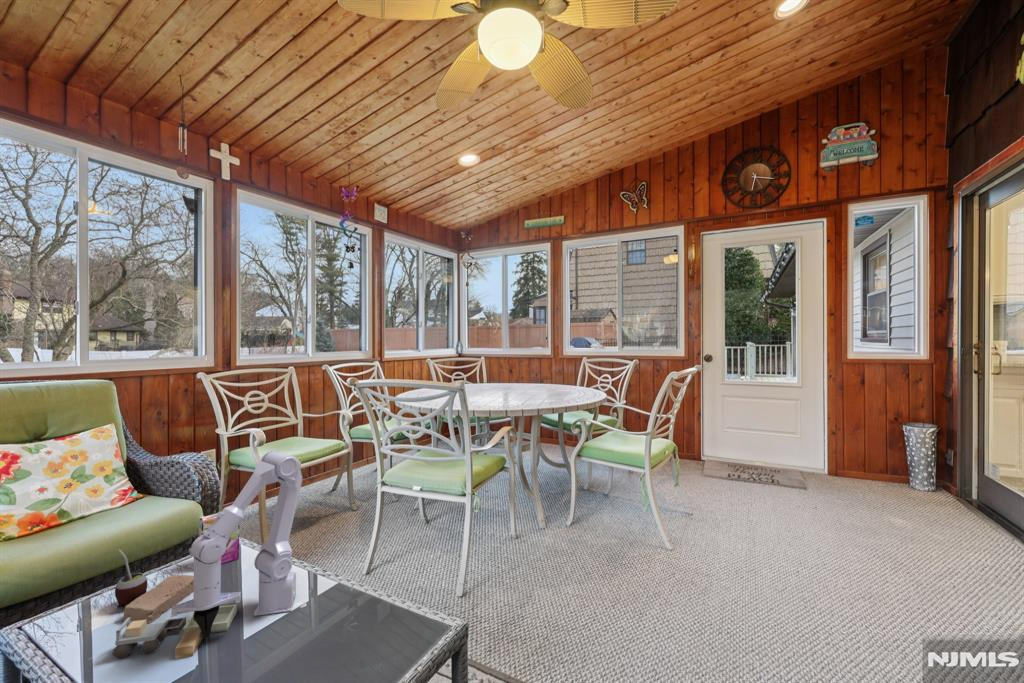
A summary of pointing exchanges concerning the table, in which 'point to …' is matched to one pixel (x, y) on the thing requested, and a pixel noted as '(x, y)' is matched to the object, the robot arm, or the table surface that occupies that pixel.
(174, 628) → the socket
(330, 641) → the table surface
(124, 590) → the mate gourd
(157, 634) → the trolley
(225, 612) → the tray
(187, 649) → the block
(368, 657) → the table surface
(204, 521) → the candy bar box
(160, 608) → the brick
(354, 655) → the table surface
